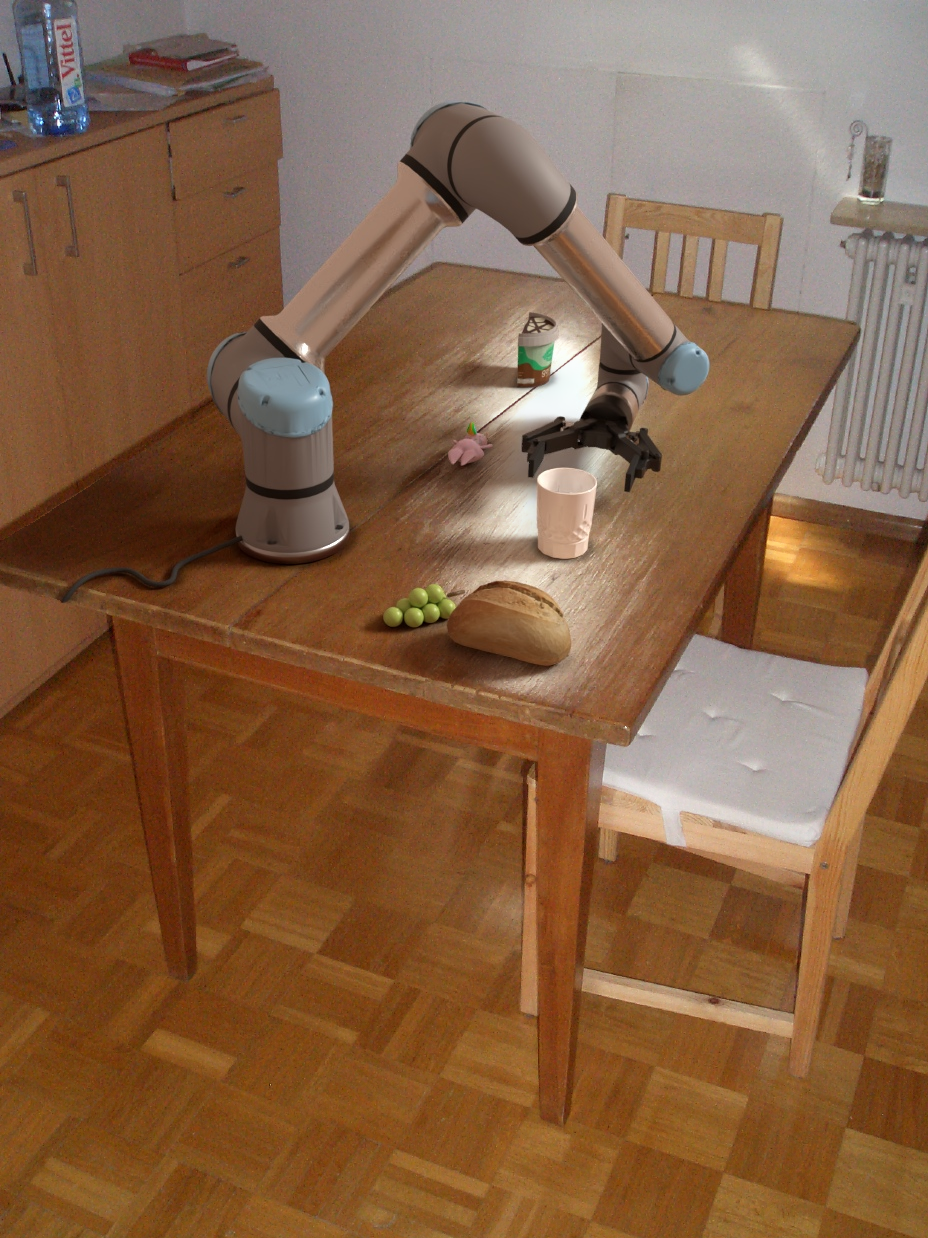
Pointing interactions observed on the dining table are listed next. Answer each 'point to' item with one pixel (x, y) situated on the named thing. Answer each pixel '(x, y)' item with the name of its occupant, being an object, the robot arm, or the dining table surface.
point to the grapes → (421, 607)
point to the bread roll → (512, 623)
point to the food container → (536, 350)
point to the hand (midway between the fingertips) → (578, 475)
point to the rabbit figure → (469, 447)
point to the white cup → (564, 511)
